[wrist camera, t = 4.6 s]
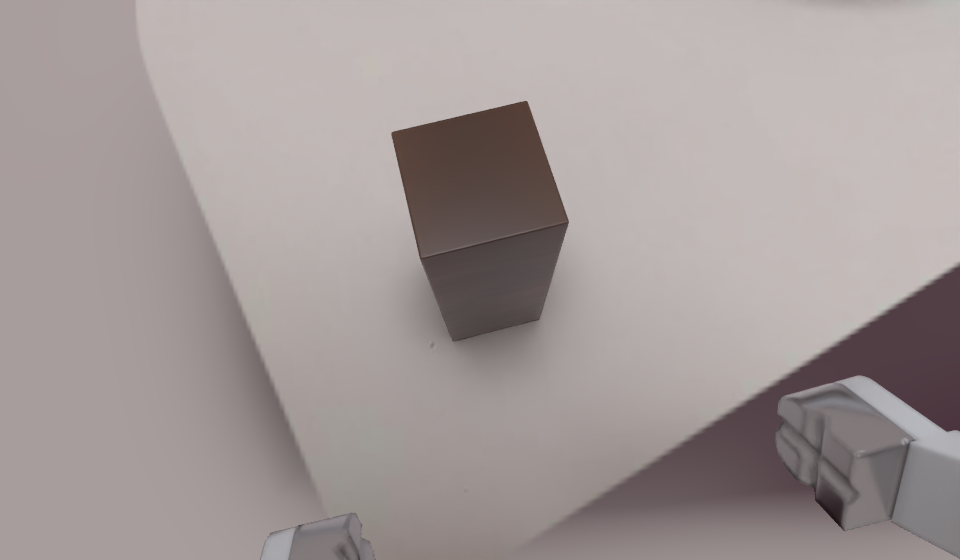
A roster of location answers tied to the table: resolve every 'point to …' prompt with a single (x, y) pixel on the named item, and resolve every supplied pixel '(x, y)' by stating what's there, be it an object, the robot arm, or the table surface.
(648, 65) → the table surface
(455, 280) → the block
